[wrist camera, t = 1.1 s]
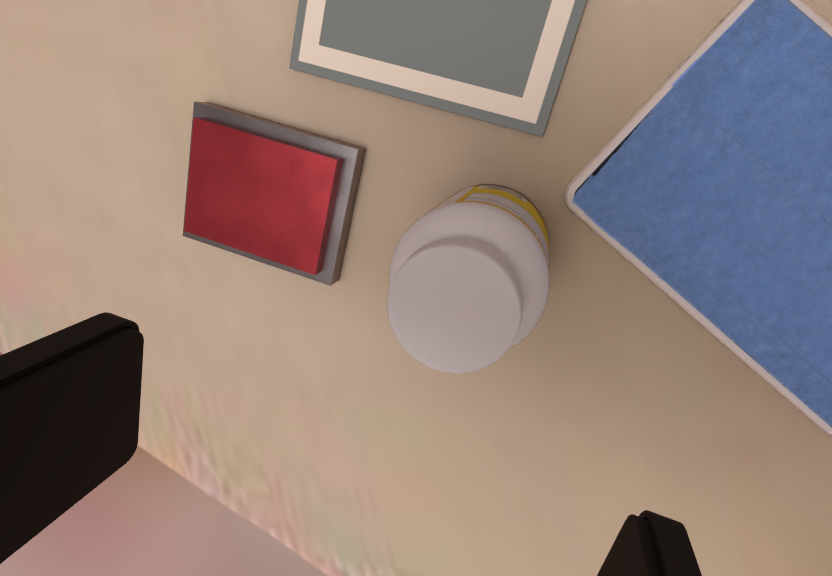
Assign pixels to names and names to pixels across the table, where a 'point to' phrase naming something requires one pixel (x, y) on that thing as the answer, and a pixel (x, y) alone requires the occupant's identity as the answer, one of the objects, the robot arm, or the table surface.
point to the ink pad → (270, 191)
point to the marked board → (445, 52)
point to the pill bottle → (469, 279)
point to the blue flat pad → (735, 193)
